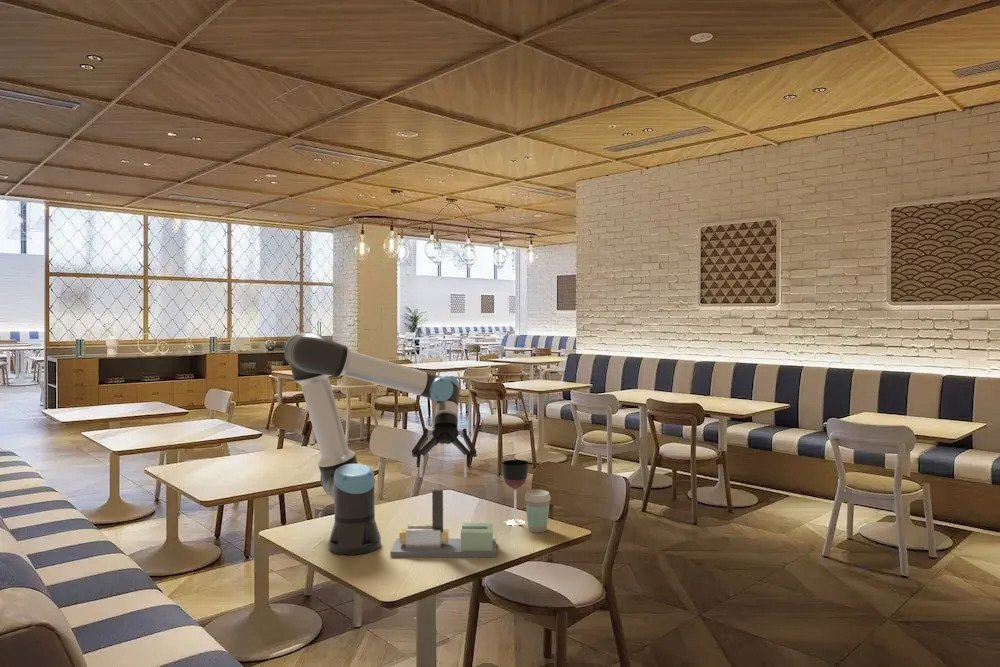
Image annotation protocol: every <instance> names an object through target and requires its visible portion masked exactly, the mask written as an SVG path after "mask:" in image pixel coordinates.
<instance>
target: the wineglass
mask: <svg viewBox="0 0 1000 667" xmlns="http://www.w3.org/2000/svg"><path fill="white" fill-rule="evenodd" d="M501 465H502V466H501V468H502V475H503V481H504V484H505V485H506V486H508V487H509V488H511V489H513V518H512V520H510V519H507V520H508V521H506V520H505V521H506V522H505V521H504V522H505V523H506V524H507V525H506V526H508V525H512V526H511V527H515V526H514V525H522V524H525V520H524V521H523V519H520V518H519V519H520V520H519V519H518V518H517V489H519V488H521V487H523V486H524V485H525V484H526V482H527V477H528V472H529V461H527V460H523V459H509V460H504V461H502V463H501ZM525 525H526V524H525Z"/></svg>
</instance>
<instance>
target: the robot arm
mask: <svg viewBox="0 0 1000 667" xmlns="http://www.w3.org/2000/svg"><path fill="white" fill-rule="evenodd" d="M283 351H284V352H283V353H284V359H285V361H286V363H287V364H288V365H289V367H290V372H291V374H292V377H293V381H294V383H297V384H299V385H300V388H301V390H302V394H303V397H304V400H305V404H306V408H307V411H308V414H309V418H310V419H309V420H310V422H311V426H312V428H313V432H314V436H315V440H316V442H317V447H318V450H319V453H320V460H318V463H317V465H318V467H319V472H320V484H321V487H322V489H323V490H324V492H325V493H326V494H327V495H329V496H330V498H332V500H333V501H334V522H333V527H332V529H331V533H330V537H329V539H328V550H329V549H330V550H331V551H330V550H329V551H330V552H332V551H333V552H335V553H334V554H336V553H339V554H338V555H341V554H348V555H347V556H355V555H354V554H358V555H362V553H364V554H368V553H371V552H374V551H376V550H378V549H379V548H380V547H381V544H382V538H381V533H380V531H379V527H378V525H377V522H376V518H375V516H376V515H375V513H376V512H375V511H376V510H375V505H376V504H375V496H376V495H375V494H376V493H375V491H376V490H375V487H376V486H375V484H376V478H375V472H374V470H373V468H372V467H371V466H369V465H365V464H364V465H363V464H362V463H358V459H357V456H356V453H355V451H354V450H352V449H350V448H349V446H348V442H347V438H346V435H345V432H344V427H343V424H342V420H341V416H340V413H339V410H338V406H337V402H336V399H335V395H334V391H333V388H332V384H331V381H330V376H331V377H335V378H340V377H342V376H344V377H348V378H352V379H356V380H360V381H364V382H368V383H372V384H374V385H375V384H376V385H378V386H382V387H385V388H390V389H394V390H397V391H400V392H404V393H409V394H412V395H417V396H420V397H423V398H427V399H429V400H430V401H433V402H435V415H434V416H435V417H434V427H433V429H432V430H430V429H428V428H425V427H424V429H423V434H422V435H421V437H420V438H419V439H418V441H417V443H416V444H415V445H414V447H413V448H412V450H411V454H412V457H413V458H416V467H417V468H419V469H418V470H419V471H418V474H419V478H420V479H421V478H423V473H424V462H425V458H424V456H425V455H427V453H428V452H430V451H431V450H432V449H433V448H434V447H435V446H437V445H438V444H440V445H445V444H446V445H450V444H453V446H455V447H456V448H457V449H458V450H459V451H460V452H461V453H462V454H463V455H464V458H463V462H464V463H463V478H465V479H466V478H467V477H468V476H467V472H468V467H469V468H470V467H471V461H472V460H471V459H472V458H476V457H477V449H476V448H475V446H474V444H473V442H472V440H471V439H470V437H469V435H468V431H467V430H468V429H467V428H463V429H462V430H459V429H458V428H459V427H458V424H459V406H460V405H459V401H460V393H461V392H460V382H459V380H458V378H456V377H454V376H453V375H450V376H449V375H443V376H440V375H437V374H433V373H429V372H426V371H422V370H421V369H417V368H415V367H413V368H412V367H408V366H405V365H401V364H398V363H396V362H392V361H388V360H385V359H381V358H377V357H374V356H371V355H367V354H364V353H360V352H357V351H353V350H350V348H349V346H348V345H345V344H341V343H340V342H339V343H338V342H336V341H334V340H331V339H329V338H327V337H325V336H323V335H320V334H318V333H313V332H310V331H305V332H299V333H295V335H293V336H291V337H290V338H289V339H288V340H287V342H286V344H285V346H284V350H283ZM431 436H432V437H431ZM459 436H460V437H461V438H462V439H463V441H464V442H465V444H466V446H467V447H466V446H465V445H464V443H462V442H461V441H460V440H459V438H458V437H459ZM430 437H431V439H430V440H429V441H428V442H427V440H428V439H429V438H430ZM426 442H427V443H426ZM425 443H426V444H425ZM333 552H332V553H333ZM367 552H368V553H367Z"/></svg>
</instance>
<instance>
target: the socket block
mask: <svg viewBox="0 0 1000 667" xmlns="http://www.w3.org/2000/svg"><path fill="white" fill-rule="evenodd" d="M493 524H494V523H493V522H462V525H461V530H460V539H461V551H492V546H493V539H494V525H493Z"/></svg>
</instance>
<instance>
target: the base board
mask: <svg viewBox="0 0 1000 667" xmlns="http://www.w3.org/2000/svg"><path fill="white" fill-rule="evenodd" d="M389 557H390V558H497V538H493V546H492V551H461V538H449V540H448V544H442V545H441V548H406V544H400V537H399V538H396V539H395V541H394V543H393V545H392V547H391V550H390V556H389Z"/></svg>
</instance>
